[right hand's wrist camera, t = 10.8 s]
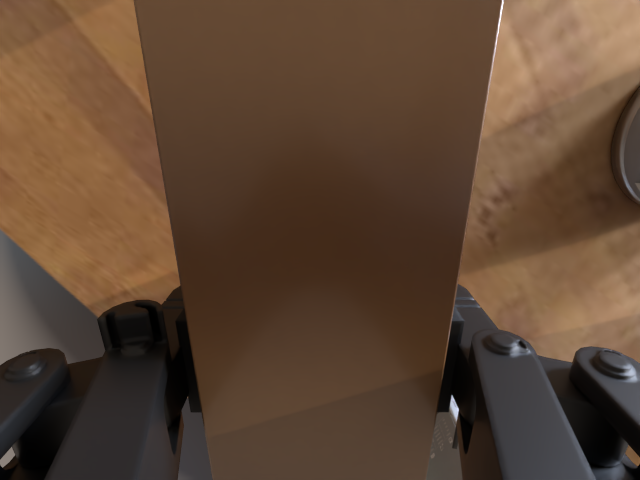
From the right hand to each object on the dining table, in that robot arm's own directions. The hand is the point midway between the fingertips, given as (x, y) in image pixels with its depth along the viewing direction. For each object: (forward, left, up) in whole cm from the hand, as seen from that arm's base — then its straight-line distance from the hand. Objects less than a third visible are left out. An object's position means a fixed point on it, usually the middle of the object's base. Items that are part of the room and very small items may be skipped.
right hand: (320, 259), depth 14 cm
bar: (-7, -21, 0) cm, 23 cm away
